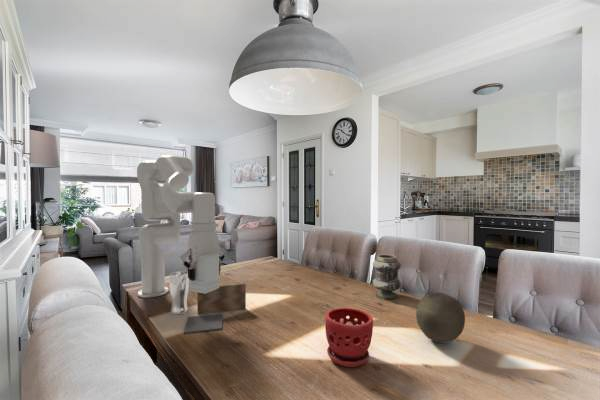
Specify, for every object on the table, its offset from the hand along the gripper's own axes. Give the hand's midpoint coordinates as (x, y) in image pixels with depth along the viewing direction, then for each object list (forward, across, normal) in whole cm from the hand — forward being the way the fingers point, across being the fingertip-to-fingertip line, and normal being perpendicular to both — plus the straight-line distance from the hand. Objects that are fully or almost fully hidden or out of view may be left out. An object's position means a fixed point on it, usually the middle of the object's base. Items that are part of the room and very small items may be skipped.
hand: (204, 277), depth 102 cm
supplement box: (+5, 0, 0) cm, 5 cm away
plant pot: (+18, -19, +47) cm, 54 cm away
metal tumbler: (+17, +2, -17) cm, 24 cm away
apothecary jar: (+17, -71, +31) cm, 79 cm away
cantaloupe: (+18, -46, +62) cm, 80 cm away
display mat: (+17, 0, -1) cm, 17 cm away
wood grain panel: (+16, -10, -6) cm, 20 cm away
